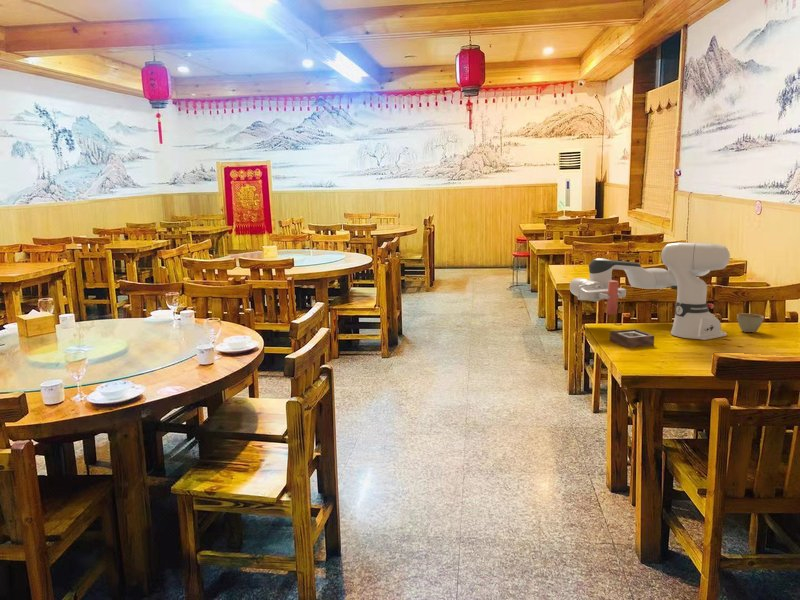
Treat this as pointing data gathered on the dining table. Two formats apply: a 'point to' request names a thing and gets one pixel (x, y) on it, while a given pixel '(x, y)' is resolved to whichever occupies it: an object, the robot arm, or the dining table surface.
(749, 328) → the flower pot
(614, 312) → the peg
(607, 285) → the robot arm
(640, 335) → the box
